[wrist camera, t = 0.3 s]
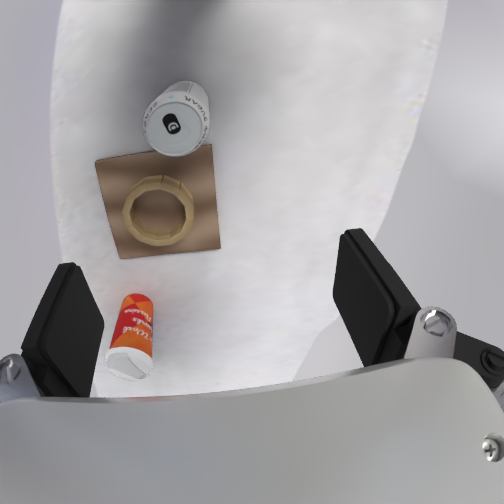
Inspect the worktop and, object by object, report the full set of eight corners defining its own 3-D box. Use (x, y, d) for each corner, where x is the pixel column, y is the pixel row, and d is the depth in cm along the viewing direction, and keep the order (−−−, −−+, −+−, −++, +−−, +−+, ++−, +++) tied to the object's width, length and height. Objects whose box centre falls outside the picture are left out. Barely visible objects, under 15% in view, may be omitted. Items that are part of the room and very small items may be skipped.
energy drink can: (173, 132, 39) (158, 174, 27) (153, 93, 35) (126, 115, 23) (216, 113, 38) (221, 144, 26) (197, 72, 35) (192, 81, 23)
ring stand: (96, 160, 39) (89, 169, 36) (211, 144, 40) (212, 151, 38) (121, 255, 48) (117, 268, 45) (220, 244, 50) (221, 258, 47)
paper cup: (167, 307, 56) (163, 372, 45) (139, 325, 58) (132, 387, 46) (136, 281, 52) (123, 347, 40) (108, 302, 53) (94, 364, 42)
